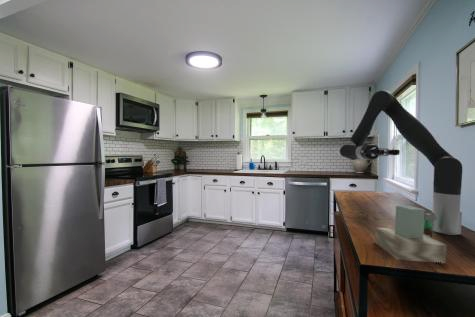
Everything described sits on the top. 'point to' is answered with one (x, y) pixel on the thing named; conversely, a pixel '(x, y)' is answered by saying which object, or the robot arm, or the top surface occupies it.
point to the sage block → (409, 221)
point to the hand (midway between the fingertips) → (389, 151)
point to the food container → (429, 223)
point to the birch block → (410, 246)
